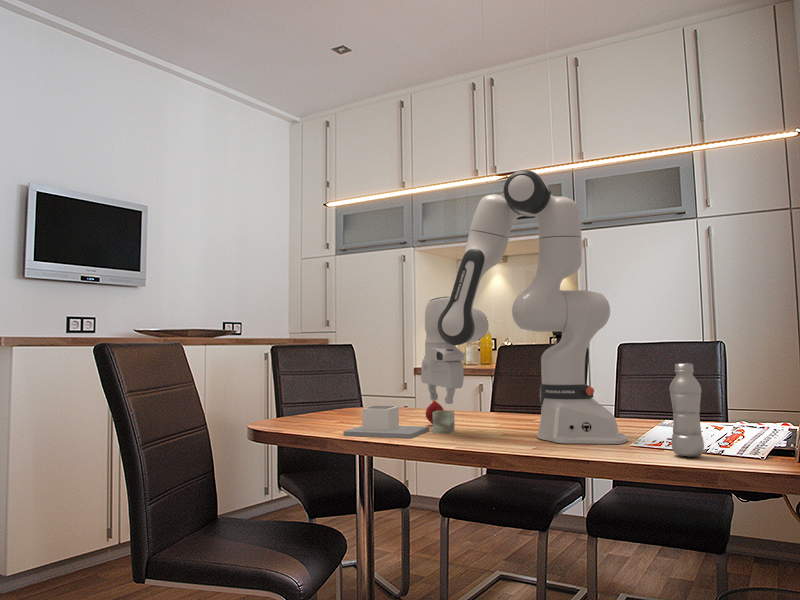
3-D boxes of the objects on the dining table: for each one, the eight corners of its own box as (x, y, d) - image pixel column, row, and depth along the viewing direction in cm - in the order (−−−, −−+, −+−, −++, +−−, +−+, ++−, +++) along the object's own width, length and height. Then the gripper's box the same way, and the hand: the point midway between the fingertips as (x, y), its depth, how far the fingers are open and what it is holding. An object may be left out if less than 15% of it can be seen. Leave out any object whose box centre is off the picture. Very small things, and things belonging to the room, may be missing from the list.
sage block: (454, 431, 179) (454, 410, 179) (449, 434, 174) (449, 412, 175) (438, 431, 181) (437, 410, 181) (432, 433, 176) (432, 412, 176)
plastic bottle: (694, 453, 138) (690, 363, 139) (711, 459, 131) (706, 364, 132) (666, 454, 137) (662, 363, 139) (681, 459, 131) (676, 364, 132)
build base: (429, 430, 181) (428, 405, 182) (410, 438, 166) (410, 410, 167) (366, 428, 188) (366, 403, 189) (343, 435, 173) (343, 408, 174)
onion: (444, 424, 195) (444, 398, 196) (444, 426, 190) (443, 400, 190) (426, 424, 196) (425, 399, 197) (425, 426, 190) (424, 400, 191)
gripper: (415, 352, 187) (416, 398, 186) (446, 355, 168) (447, 406, 167) (434, 351, 189) (435, 397, 189) (467, 354, 170) (468, 405, 170)
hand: (441, 401), depth 178 cm, fingers open, 8 cm apart
